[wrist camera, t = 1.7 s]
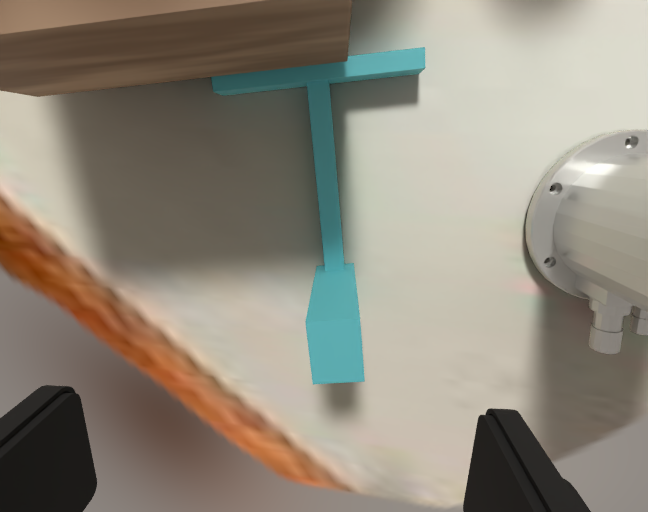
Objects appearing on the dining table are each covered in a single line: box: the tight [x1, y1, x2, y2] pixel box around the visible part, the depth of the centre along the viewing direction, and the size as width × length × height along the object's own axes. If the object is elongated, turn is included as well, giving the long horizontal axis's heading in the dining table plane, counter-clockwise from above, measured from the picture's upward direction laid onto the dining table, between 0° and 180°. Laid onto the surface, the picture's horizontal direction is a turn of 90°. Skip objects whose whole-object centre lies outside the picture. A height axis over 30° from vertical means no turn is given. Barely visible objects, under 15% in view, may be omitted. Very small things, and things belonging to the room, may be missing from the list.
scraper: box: [211, 47, 425, 384], centre depth 23 cm, size 19×14×10 cm
